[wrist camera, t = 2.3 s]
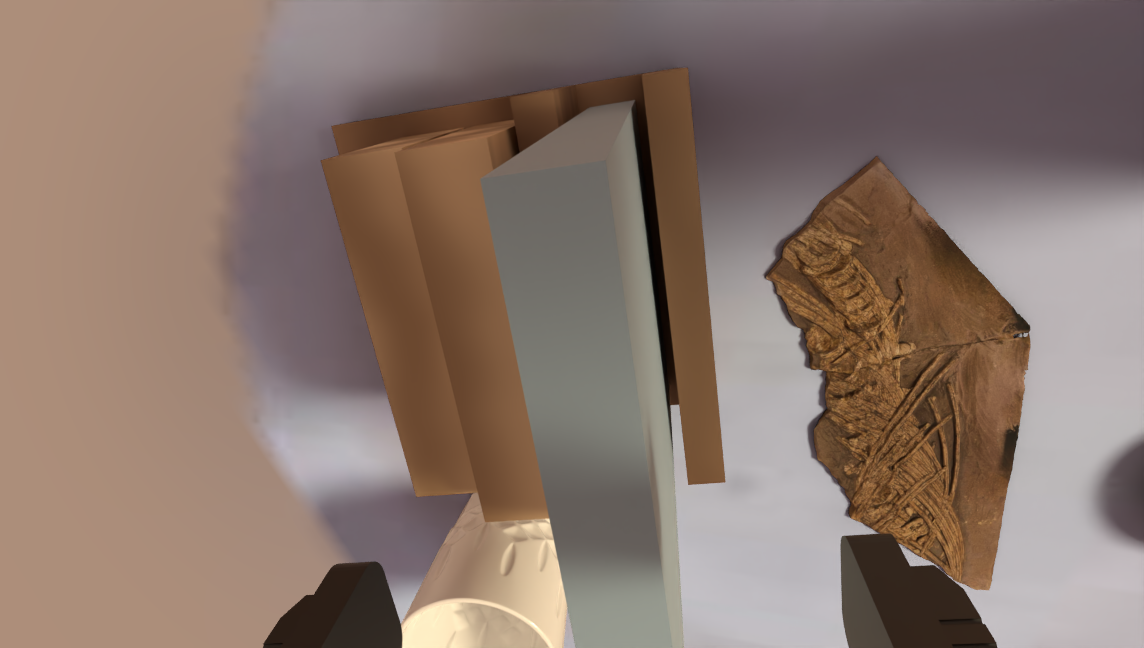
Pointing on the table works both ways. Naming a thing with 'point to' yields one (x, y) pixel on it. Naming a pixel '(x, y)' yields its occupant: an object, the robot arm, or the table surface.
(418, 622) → the white cup
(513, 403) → the tall oak offcut
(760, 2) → the table surface
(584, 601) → the tall board
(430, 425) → the short oak offcut
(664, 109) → the rack
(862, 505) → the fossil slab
